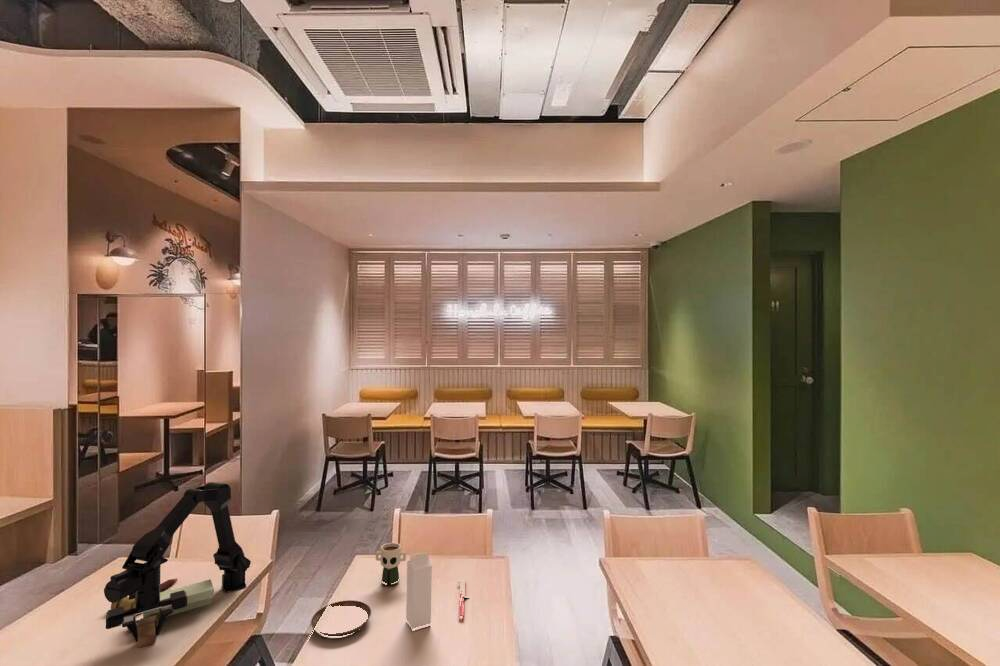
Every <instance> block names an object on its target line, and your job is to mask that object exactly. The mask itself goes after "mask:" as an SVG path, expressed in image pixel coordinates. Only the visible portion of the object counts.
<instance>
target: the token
mask: <svg viewBox="0 0 1000 666" xmlns="http://www.w3.org/2000/svg"><path fill="white" fill-rule="evenodd" d="M139 621H140V619H137V620H136V625H137V626H138V624H139ZM127 633H131V631H130V630H129V629H128V628H127ZM131 634H132V633H131Z"/></svg>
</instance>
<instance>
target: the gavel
mask: <svg viewBox="0 0 1000 666" xmlns="http://www.w3.org/2000/svg"><path fill="white" fill-rule="evenodd" d="M177 581H178V578H171V579H167V580H166V581H164V582H162V583H160V592H164V591H167V590H169V588H171V587H173V586H174V585H175V583H177ZM122 606H124V611H125V610H129V609H132V608H135V607H136V605H135V599H131V600H129V596H127V597H125V598H123V599H121V600H119V601H117V602H115V603H111V604H110V610H111V609H115V608H118V607H122ZM140 615H143V613H141V614H140Z"/></svg>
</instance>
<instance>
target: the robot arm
mask: <svg viewBox="0 0 1000 666" xmlns="http://www.w3.org/2000/svg"><path fill="white" fill-rule="evenodd" d="M231 490H232V489H231V485H230V484H228V483H223V482H213V481H209V482H207V483H206V484H205V485H200V486H196V487H194V488H189V489H186V491H184V493H183V496H182V497H181V498H180V499H179V501H178V502H177V503H176V504H175V505H174V507H173V508H172V509H171V510H170V512H169V513H167V514H166V516H165V517H164V518H163V520H162V521H161V522H160V523H159V524H158V525H157V526H156V527H155V528H154V529H152V530H150V531H148V532H147V533H144V535H143V536H141V538H139V539H138V540H137V541H136V542H135V543H134V545H133V546H132V548H131V549H132V550H131V552H130V553H129V555H128V556H127V557H126V560H125V562H124V563H123V565H122V567H121V568H122V571H121V572H119V573H116V574H113V575H112V576H110V579H109V580H110V581H108V582H107V583H106V584H105V587H104V588H103V594H104V595H103V596H104V597H105V599H106V601H108V603H111V604H112V603H115V602H117V601H119V600H121V599H123V598H125V597H129V600H131V599H135V605H136V607H135V608H132V609H129V610H125V611H124V606H122V607H118V608H115V609H111V608H110V609H108V610H107V612H105V629H106V630H109V629H114V628H117V627H120V626H121V627H122V628H127V630H128V629H129V630H130V631H131V634H132V636H133V638H134V641H135V642H136V643H138V632H137V625H136V616H138V615H142V614H143V613H145V612H149V611H152V610H156V609H159V616H158V623H157V637H158V636H159V635H160V632H161V630H162V628H163V626H164V623H165V621H167V619H168V617H169V616H168V615H169V614H172V613H173V609H174V610H177V609H180V608H184V607H186V606H187V595H186V591H184V590H182V591H178V592H174V593H171V594H170V598H166V599H163V600H161V601H160V584H161V569H162V567H161V565H164V564H165V563H167V562H168V561H169V559H168V558H166V557H164V555H165V553H166V552H167V550H168V549H169V547H170V545H171V539H172V537H173V536H174V534H175V533H176V531H177V530H178V529H179V528H180V526H181V525H183V523H184V522H185V520H186V519H188V517H189V515H190V514H191V513H192V512H193V511H194V510H195V508H196V507H197V506H198V504H200V503H204V505H205V506H206V507H207V508H208V509H209V510H210V512H211V517H212V521H213V525H214V526H213V527H214V530H215V534H216V540H217V543H218V548H217V551H216V552H214V553H213V555H212V556H213V559H214V565H216V566H217V567H218V570H219V571H223V574H222V575H221V588H222V590H224V592H225V593H230V592H233V591H236V590H237V591H238V590H241V589H244V588H247V583H246V572H247V571H248V569H250V567H251V563H252V562H251V560H250V559H249V558H247V557H246V556H245V552H244V550H243V548H242V547H241V545H240V544H239V543H237V541H236V539H235V533H234V530H233V529H234V528H233V524H232V520H231V516H230V510H229V503H230V501H231V499H232V491H231ZM136 561H141V562H143V563H141V562H136ZM123 570H124V571H123ZM141 613H142V614H141Z"/></svg>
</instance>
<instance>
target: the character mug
mask: <svg viewBox="0 0 1000 666" xmlns="http://www.w3.org/2000/svg"><path fill="white" fill-rule="evenodd" d="M401 547H402V546H401V544H400V543H398V542H387V543H384V544H383V545H381V547H380V551H376V552H375V561H380V565H381V566H382V567H383V569H382V575H381V582H382V581H383V582H385V583H387V584H390V583H394V582H396V581H398V579H399V580H400V573H399V565H400V564H401V562H405V561H406V560H407V552H406V551H402V550H401V549H402V548H401ZM379 555H380V557H379ZM401 556H402V557H401Z"/></svg>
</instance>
